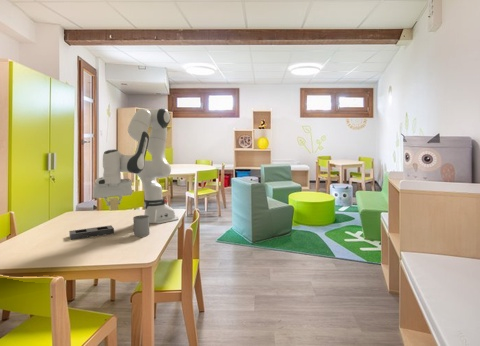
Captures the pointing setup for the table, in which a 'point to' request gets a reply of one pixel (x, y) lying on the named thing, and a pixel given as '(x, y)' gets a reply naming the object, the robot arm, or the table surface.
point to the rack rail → (91, 232)
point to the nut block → (113, 204)
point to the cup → (141, 225)
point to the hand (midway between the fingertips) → (113, 204)
